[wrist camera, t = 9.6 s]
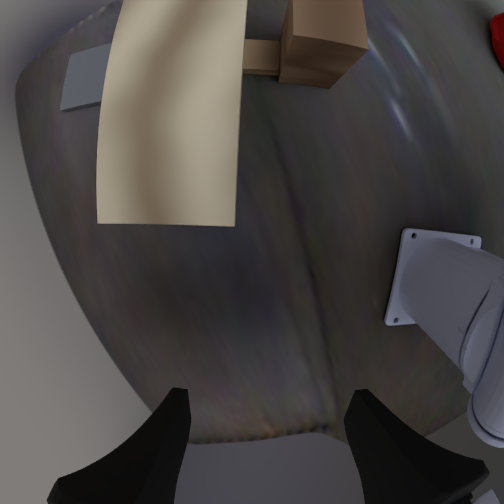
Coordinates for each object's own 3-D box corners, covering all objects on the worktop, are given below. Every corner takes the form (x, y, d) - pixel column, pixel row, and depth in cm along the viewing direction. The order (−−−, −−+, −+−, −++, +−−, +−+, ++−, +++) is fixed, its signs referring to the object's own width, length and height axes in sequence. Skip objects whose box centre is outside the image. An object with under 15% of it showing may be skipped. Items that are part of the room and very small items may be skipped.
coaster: (129, 46, 15) (122, 40, 13) (120, 103, 16) (112, 99, 15) (79, 59, 15) (70, 55, 13) (69, 113, 16) (59, 110, 15)
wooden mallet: (328, 47, 15) (361, -2, 8) (329, 88, 16) (368, 49, 9) (126, 50, 15) (81, 10, 8) (119, 89, 15) (66, 59, 9)
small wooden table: (249, 7, 14) (249, -23, 10) (237, 215, 18) (234, 226, 14) (145, 15, 14) (127, -9, 10) (125, 213, 18) (97, 223, 14)
